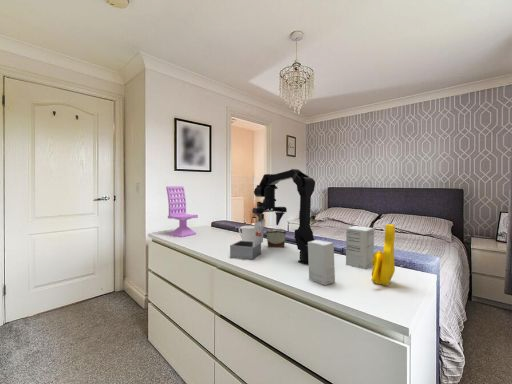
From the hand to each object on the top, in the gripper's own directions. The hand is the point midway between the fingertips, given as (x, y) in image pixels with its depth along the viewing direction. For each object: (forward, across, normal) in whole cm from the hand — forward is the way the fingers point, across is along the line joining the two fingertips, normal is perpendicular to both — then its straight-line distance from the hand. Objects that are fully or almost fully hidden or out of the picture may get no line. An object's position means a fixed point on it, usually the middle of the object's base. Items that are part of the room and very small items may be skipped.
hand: (269, 225), depth 138 cm
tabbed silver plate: (0, +11, +7) cm, 13 cm away
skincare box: (+15, +4, +46) cm, 48 cm away
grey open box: (+14, +15, +2) cm, 21 cm away
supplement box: (+15, -25, +38) cm, 48 cm away
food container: (+14, -9, -8) cm, 18 cm away
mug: (+14, +4, -22) cm, 26 cm away
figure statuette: (+15, -15, +57) cm, 61 cm away
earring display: (+13, +35, -68) cm, 78 cm away
